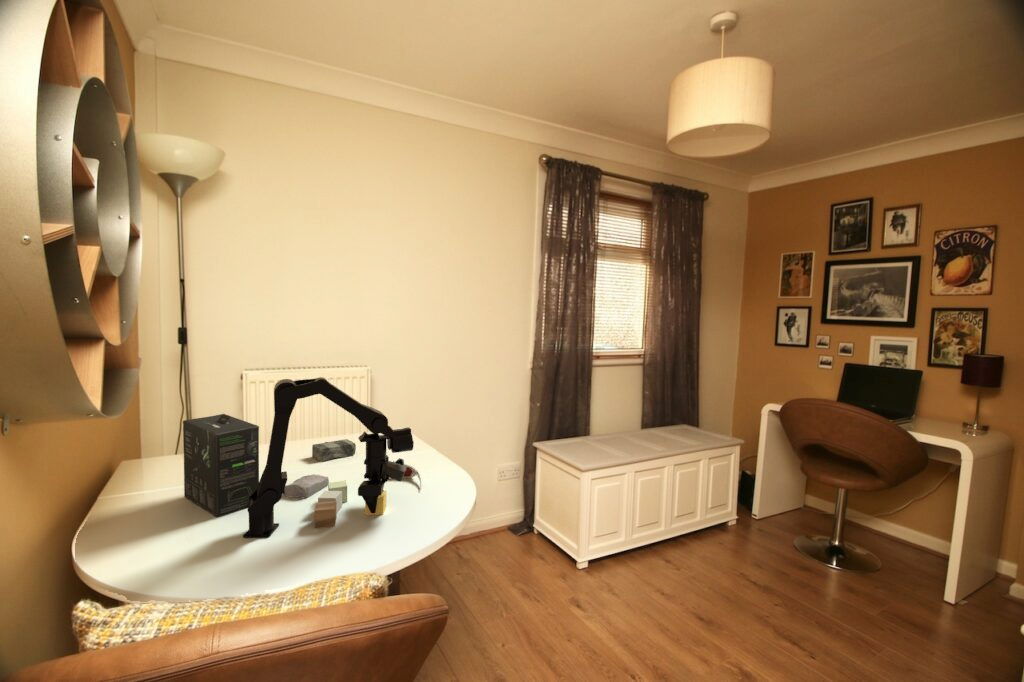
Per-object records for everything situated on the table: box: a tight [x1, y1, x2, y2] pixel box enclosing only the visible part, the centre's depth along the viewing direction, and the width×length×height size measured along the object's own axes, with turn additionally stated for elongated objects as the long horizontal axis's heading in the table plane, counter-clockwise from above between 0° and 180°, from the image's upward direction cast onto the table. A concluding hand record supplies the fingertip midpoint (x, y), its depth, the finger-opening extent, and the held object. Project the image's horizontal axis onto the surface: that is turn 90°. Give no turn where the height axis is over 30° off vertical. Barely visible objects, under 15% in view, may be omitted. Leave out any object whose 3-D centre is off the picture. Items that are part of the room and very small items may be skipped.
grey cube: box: [317, 490, 343, 514], centre depth 130 cm, size 5×5×5 cm
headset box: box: [182, 413, 260, 518], centre depth 135 cm, size 22×12×26 cm, turn 56°
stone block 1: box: [284, 473, 330, 499], centre depth 145 cm, size 12×5×10 cm
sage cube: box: [327, 480, 348, 504], centre depth 138 cm, size 5×5×5 cm
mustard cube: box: [364, 490, 387, 516], centre depth 131 cm, size 5×5×5 cm
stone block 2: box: [311, 438, 357, 463], centre depth 178 cm, size 9×14×5 cm, turn 136°
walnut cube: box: [314, 501, 338, 529], centre depth 123 cm, size 5×5×5 cm
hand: (376, 507), depth 131 cm, fingers open, 7 cm apart
